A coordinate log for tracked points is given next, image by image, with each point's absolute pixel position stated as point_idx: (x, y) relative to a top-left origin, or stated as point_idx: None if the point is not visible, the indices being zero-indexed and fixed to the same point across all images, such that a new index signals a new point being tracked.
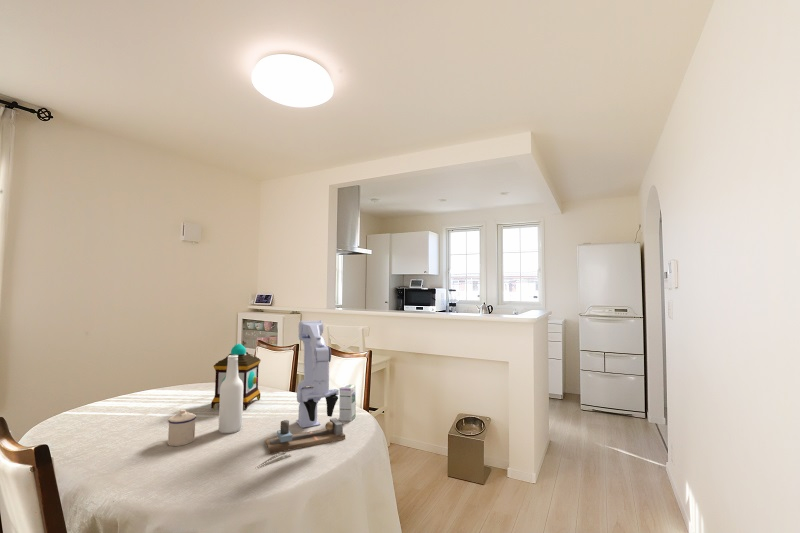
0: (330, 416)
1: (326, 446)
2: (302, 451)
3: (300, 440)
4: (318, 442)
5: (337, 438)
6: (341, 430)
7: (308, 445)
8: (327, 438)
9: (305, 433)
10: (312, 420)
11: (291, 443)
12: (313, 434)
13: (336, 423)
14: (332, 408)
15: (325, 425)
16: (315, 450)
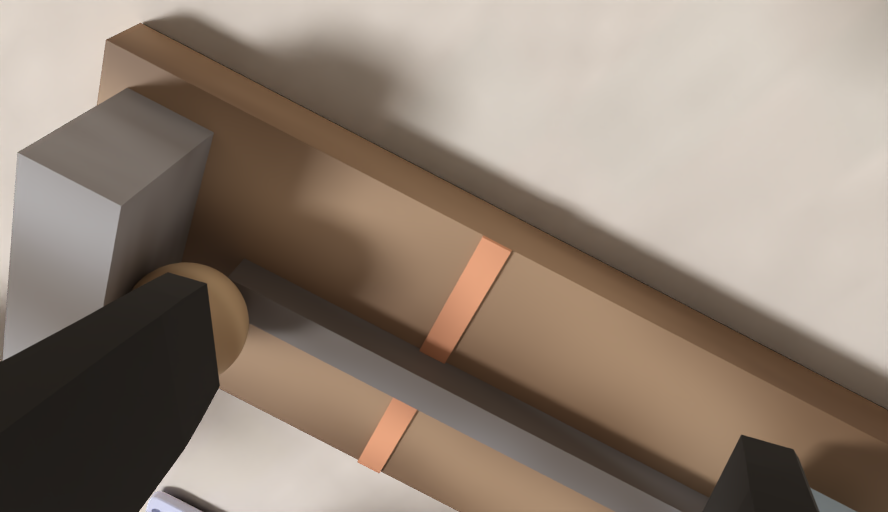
0: (203, 287)
1: (474, 69)
2: (799, 234)
3: (634, 414)
4: (490, 219)
5: (233, 88)
6: (105, 120)
7: (619, 278)
8: (360, 173)
9: (441, 475)
10: (803, 475)
11: None
12: (434, 376)
13: (90, 250)
14: (3, 402)
15: (228, 365)
16: (674, 106)
